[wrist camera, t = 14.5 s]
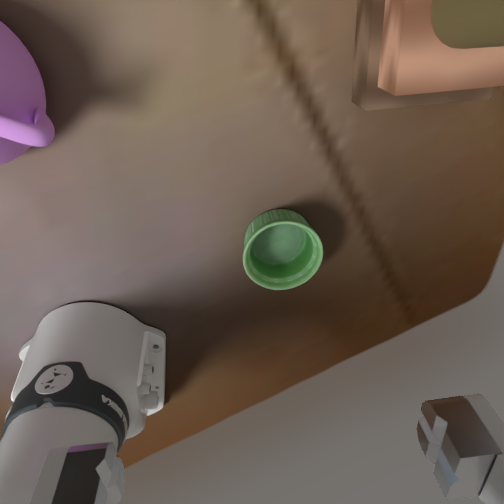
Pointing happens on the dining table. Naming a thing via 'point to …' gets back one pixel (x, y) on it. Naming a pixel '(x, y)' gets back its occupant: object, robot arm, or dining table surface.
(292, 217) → the ramekin
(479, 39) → the cork
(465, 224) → the dining table surface
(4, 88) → the teapot
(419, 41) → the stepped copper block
